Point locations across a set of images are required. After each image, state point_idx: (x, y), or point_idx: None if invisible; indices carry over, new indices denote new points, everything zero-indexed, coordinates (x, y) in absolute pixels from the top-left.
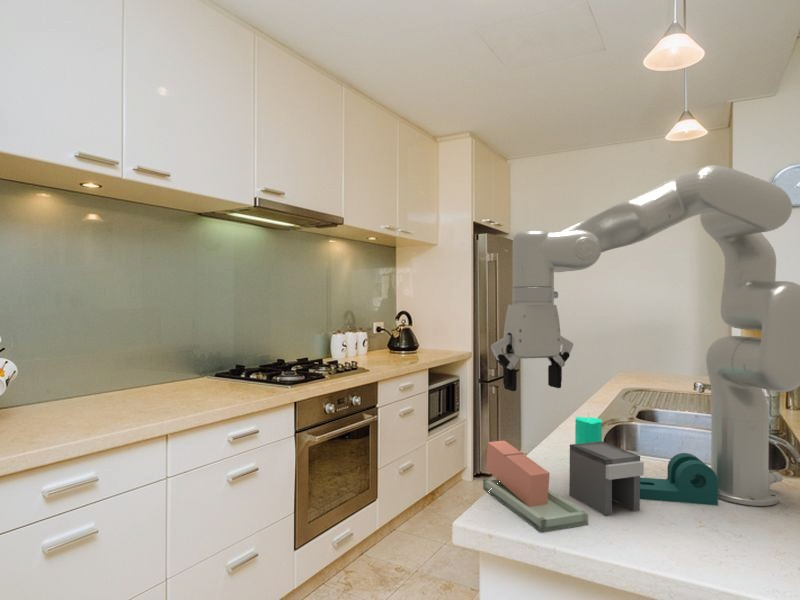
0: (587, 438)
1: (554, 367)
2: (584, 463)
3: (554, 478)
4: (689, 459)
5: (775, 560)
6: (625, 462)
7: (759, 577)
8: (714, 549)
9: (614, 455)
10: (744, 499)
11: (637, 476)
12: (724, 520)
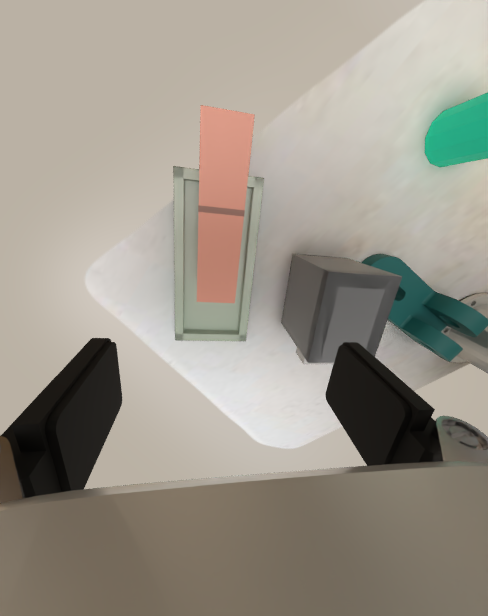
0: (485, 142)
1: (385, 456)
2: (309, 306)
3: (329, 180)
4: (468, 330)
5: (332, 422)
6: None
7: (295, 434)
8: (309, 401)
9: None
10: None
11: None
12: None
